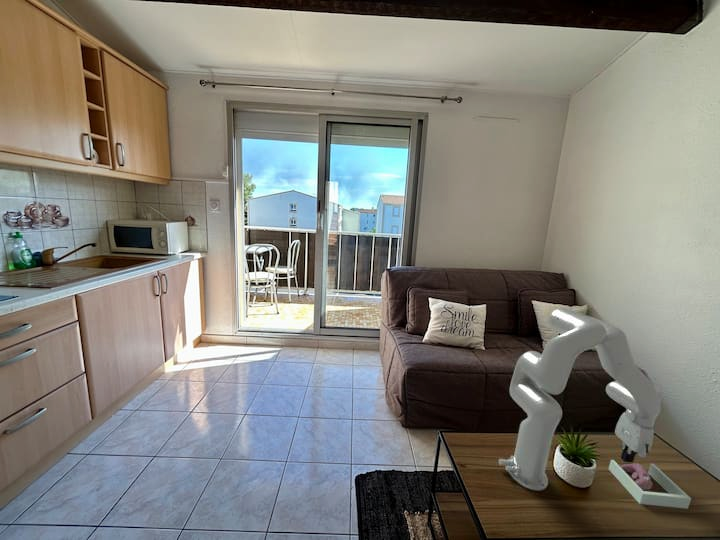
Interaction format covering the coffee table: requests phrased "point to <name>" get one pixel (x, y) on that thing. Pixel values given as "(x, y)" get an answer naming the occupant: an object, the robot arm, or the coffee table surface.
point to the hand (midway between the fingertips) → (626, 460)
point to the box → (653, 498)
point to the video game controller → (639, 475)
